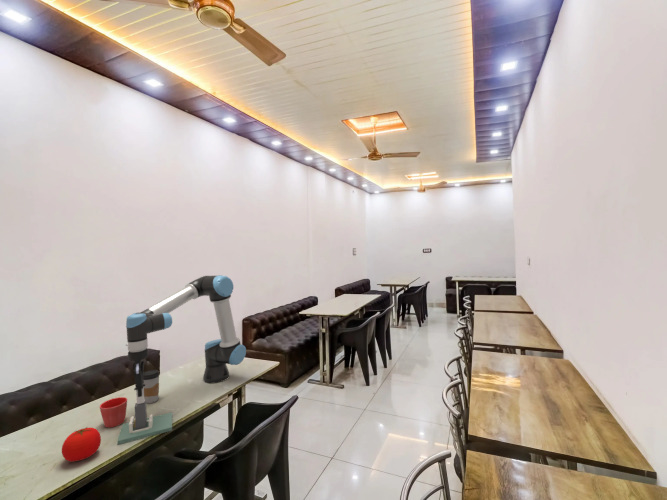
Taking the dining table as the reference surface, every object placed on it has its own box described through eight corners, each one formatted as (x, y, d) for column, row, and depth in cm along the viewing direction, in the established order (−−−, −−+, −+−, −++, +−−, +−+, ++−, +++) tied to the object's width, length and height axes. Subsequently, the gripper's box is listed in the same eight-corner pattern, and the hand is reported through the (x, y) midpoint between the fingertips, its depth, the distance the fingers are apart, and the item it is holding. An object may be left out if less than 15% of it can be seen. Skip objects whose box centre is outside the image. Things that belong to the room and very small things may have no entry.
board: (172, 415, 153) (171, 403, 153) (172, 430, 140) (171, 417, 140) (122, 427, 145) (122, 415, 144) (117, 444, 131) (116, 431, 131)
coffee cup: (152, 405, 165) (151, 376, 165) (138, 404, 167) (137, 375, 167) (164, 397, 173) (162, 369, 173) (150, 396, 175) (149, 369, 175)
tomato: (99, 444, 132) (98, 418, 132) (103, 457, 123) (101, 430, 123) (62, 457, 124) (60, 430, 124) (62, 472, 116) (61, 443, 116)
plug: (147, 423, 144) (146, 400, 144) (146, 427, 140) (145, 404, 140) (135, 426, 142) (134, 403, 142) (134, 430, 138) (132, 407, 138)
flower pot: (98, 432, 141) (97, 410, 141) (102, 421, 151) (101, 400, 151) (126, 425, 146) (125, 404, 146) (129, 414, 156) (128, 394, 156)
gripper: (129, 347, 145) (132, 399, 146) (125, 355, 134) (128, 411, 134) (148, 344, 149) (151, 395, 149) (146, 352, 137) (149, 406, 137)
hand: (140, 402), depth 141 cm, fingers closed
